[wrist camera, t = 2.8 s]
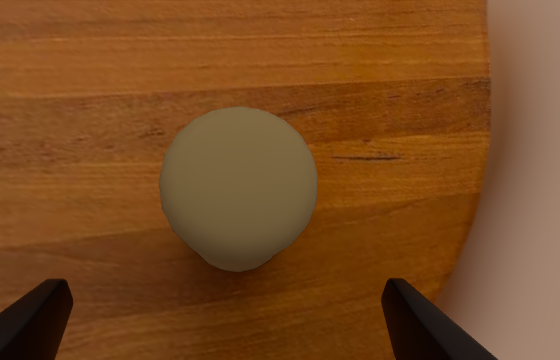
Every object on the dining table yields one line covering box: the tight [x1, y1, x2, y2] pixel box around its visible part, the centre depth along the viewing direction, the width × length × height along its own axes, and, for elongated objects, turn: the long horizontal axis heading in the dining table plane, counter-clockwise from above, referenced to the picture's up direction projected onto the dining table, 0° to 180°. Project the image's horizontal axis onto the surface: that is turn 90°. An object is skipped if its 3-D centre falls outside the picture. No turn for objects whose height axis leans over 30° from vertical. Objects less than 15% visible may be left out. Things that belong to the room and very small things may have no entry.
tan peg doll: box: [159, 106, 318, 272], centre depth 15 cm, size 6×6×11 cm
